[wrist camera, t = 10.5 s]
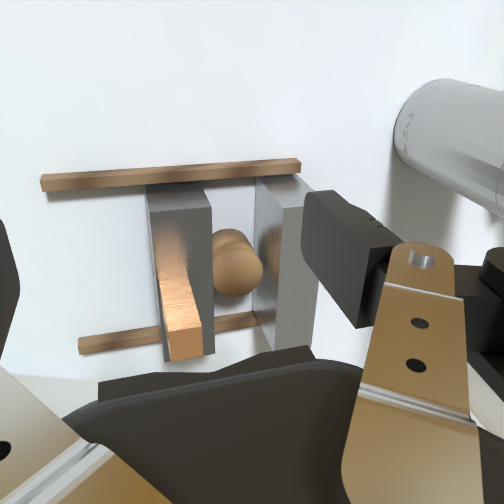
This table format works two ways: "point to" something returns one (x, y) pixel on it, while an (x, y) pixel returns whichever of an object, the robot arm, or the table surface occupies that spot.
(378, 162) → the table surface
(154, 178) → the press frame
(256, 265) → the nut
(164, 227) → the press jaw
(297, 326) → the grey rectangular block
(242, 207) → the table surface
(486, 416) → the bottle
